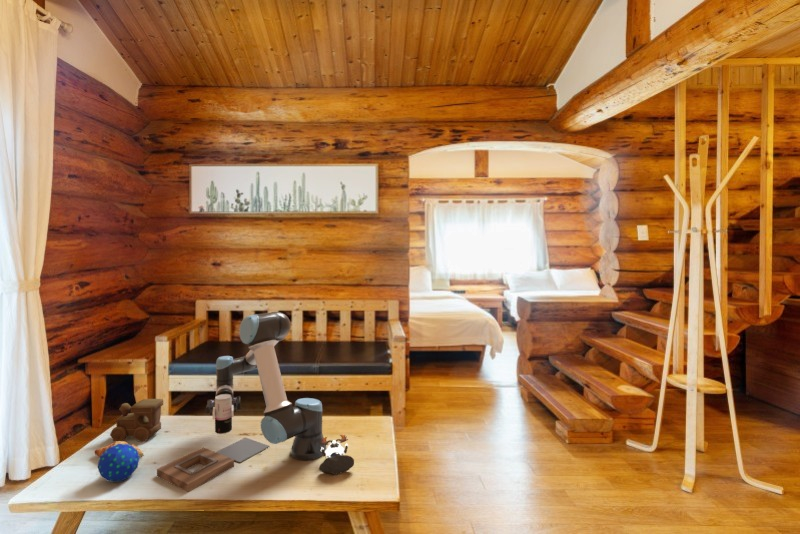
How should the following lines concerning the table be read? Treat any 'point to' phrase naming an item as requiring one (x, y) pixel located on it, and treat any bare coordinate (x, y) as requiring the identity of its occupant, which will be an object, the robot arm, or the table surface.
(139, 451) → the croissant
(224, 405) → the beverage can
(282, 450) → the table surface
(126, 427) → the wooden toy train
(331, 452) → the figurine
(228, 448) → the rubber mat
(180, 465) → the socket stand
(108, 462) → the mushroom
